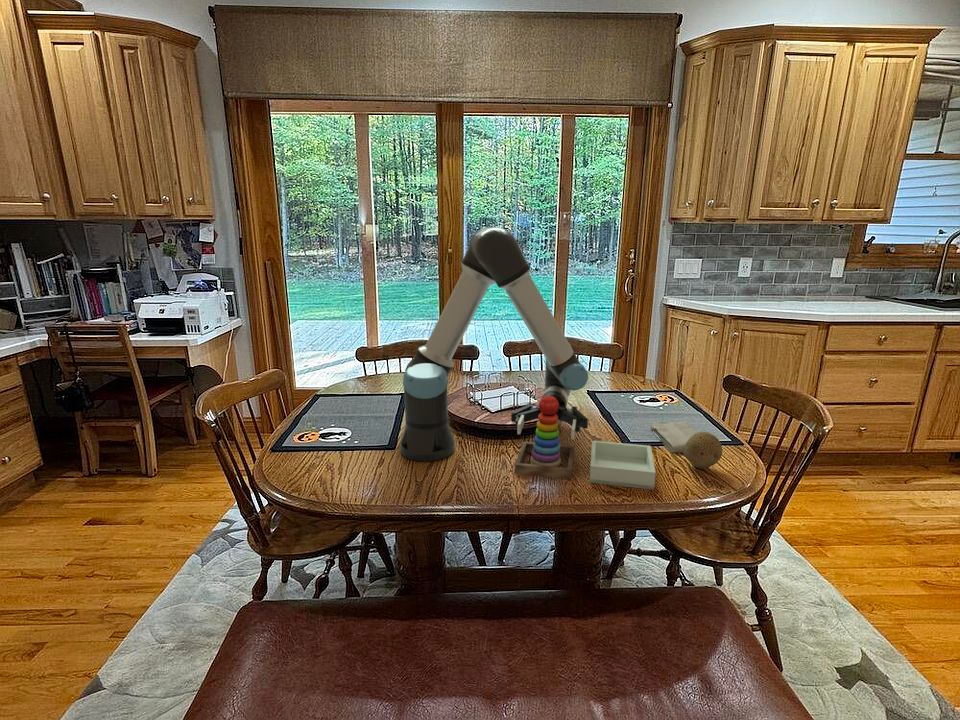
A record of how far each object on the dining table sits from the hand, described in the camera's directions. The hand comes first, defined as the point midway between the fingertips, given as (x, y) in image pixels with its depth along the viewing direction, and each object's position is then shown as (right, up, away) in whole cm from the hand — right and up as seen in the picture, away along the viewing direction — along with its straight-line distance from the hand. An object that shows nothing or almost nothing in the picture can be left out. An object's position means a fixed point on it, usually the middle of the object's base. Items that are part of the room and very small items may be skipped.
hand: (545, 431), depth 128 cm
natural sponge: (+40, -10, +3) cm, 41 cm away
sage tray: (+19, -10, +2) cm, 22 cm away
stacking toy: (+1, -9, +6) cm, 11 cm away
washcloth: (+41, -6, +21) cm, 47 cm away
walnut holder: (+1, -9, +6) cm, 11 cm away
